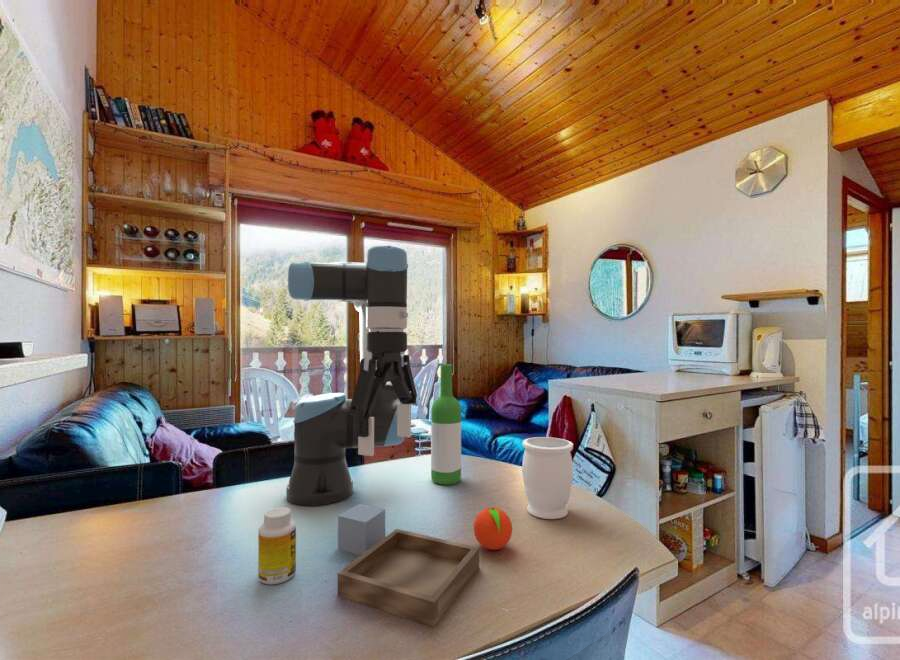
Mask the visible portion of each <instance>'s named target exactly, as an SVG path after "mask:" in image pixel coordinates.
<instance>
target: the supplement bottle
mask: <svg viewBox="0 0 900 660" xmlns="http://www.w3.org/2000/svg"><path fill="white" fill-rule="evenodd" d="M291 511H292V510H291V509H290V508H288V507H286V506H281V507H280V506H279V507H278V506H277V507H273V508H270V509H268V510H266V511H265V512H264V514H263V523H262V524H261V525H260V526H259V528H258V531H257V535H258V537H257V538H258V543H257V544H258V545H257V546H258V550H257V551H258V552H257V554H258V556H257V557H258V560H257V563H258V566H257V567H258V572H257V574H258V575H257V578H258V579H259V581H260V582H261V583H262V584H265V585H277V584H282V583H285V582H287V581H288V580H290V579H292V577H293V576H294V575H295V573H296V568H297V567H296V566H297V562H296V561H297V554H296V553H297V548H296V547H297V523H296V521H295V520H293V519H292V513H291Z"/></svg>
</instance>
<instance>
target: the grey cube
mask: <svg viewBox="0 0 900 660" xmlns="http://www.w3.org/2000/svg"><path fill="white" fill-rule="evenodd" d="M337 522H338V523H337V550H340V551H344V552H347V553H350V554H354V555H358V556H361V555H362V554H364V553H365V552H366V551H368V550H369V549H370V548H372V547H373V546H374V545H376V544H377V543H378V542H379V541H381V540H382V539H383V538H385V537H386V509H384V508H382V507H381V508H380V507H375V506H371V505H366V504H362V503H358V504H357V505H354V506H353V507H351V508H349V509H347V510H346V511H344V512H342V513H340V514H339V515H337Z"/></svg>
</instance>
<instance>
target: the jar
mask: <svg viewBox="0 0 900 660" xmlns="http://www.w3.org/2000/svg"><path fill="white" fill-rule="evenodd" d="M522 447H523V448H524V453H523V456H522V466H521V469H522V470H521V471H522V481H523V485H524V487H523V488H524V492H525V497H526V499H527V501H528V505H527V507H526V510H527V512H528V513H529V514H530V515H531V516H534V517H536V518H539V519H545V520H559V519H563V518H565V517H566V516H567V515H568V513H569V511H568V508H567V504H568V502H569V499H570V496H571V491H572V485H573V478H574V466H573V465H574V464H573V458H572V454H571V451H573V449H574V443H573V442H572V441H569V440H567V439H563V438H558V437H550V436H535V437H529V438H526V439H523V440H522Z"/></svg>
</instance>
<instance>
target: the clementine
mask: <svg viewBox="0 0 900 660" xmlns="http://www.w3.org/2000/svg"><path fill="white" fill-rule="evenodd" d="M473 532H474V536H475V539H476V541H477V542H478V544H480V546H482V547H484V548H486V549H487V550H492V551H496V550H500V549H502V548H504V547H506V545H507V544H509V542H510V540H511V538H512V534H513V524H512V521H511V519H510V517H509V516H508V514H507V513H506V512H505V511H503V510H502V509H500V508H498V507H487V508H484V509H483V510H481V511H480V512H479V513H478V514H477V515H476V518H475V519H474V522H473Z"/></svg>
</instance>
